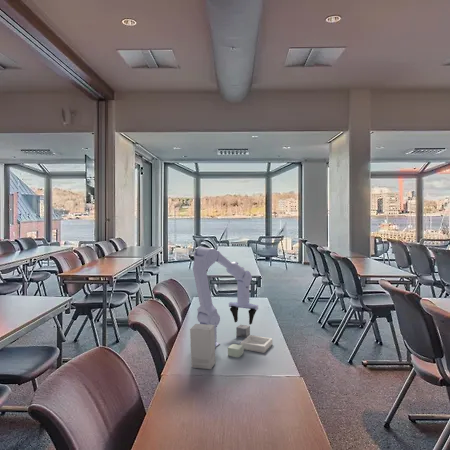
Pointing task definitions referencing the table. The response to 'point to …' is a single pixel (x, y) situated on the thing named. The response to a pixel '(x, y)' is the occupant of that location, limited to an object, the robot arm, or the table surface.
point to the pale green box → (235, 350)
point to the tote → (257, 343)
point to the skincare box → (202, 346)
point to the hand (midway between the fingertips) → (243, 322)
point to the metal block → (243, 331)
